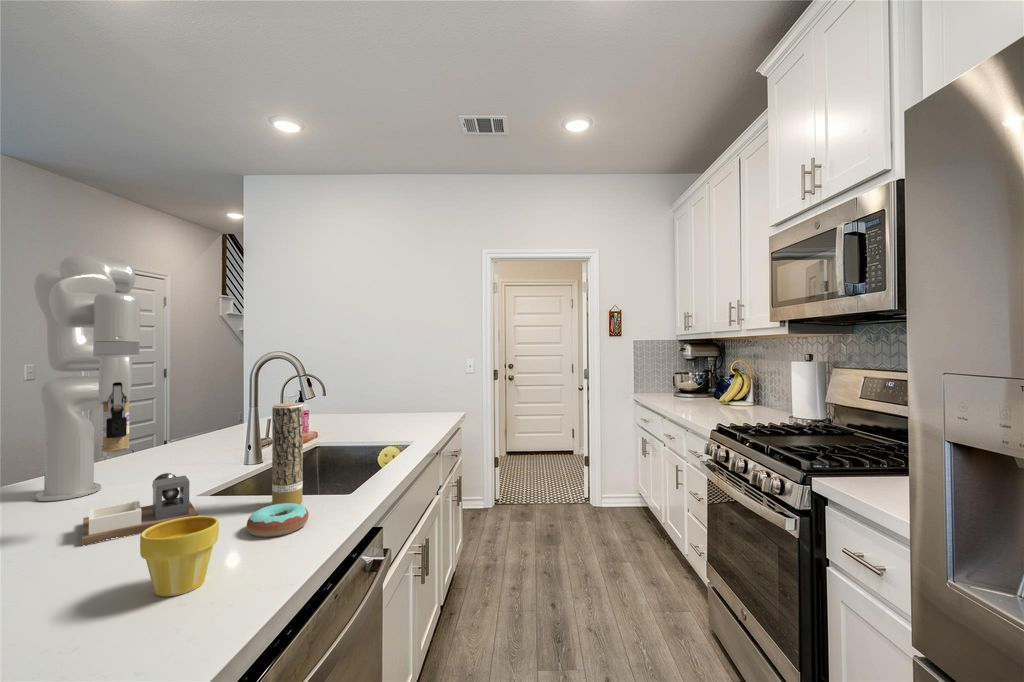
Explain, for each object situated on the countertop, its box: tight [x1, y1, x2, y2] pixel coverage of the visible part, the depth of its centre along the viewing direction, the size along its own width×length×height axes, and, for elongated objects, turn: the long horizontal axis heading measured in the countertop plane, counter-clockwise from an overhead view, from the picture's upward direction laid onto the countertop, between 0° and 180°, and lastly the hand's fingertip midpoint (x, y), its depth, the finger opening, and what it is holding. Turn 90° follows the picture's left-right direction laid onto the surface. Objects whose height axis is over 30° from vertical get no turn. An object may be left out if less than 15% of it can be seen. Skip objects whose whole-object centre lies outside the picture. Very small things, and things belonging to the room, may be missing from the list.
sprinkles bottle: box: [101, 396, 131, 453], centre depth 97 cm, size 5×5×14 cm
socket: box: [88, 500, 142, 535], centre depth 96 cm, size 8×8×3 cm
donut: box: [246, 503, 309, 538], centre depth 98 cm, size 12×12×4 cm
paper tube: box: [271, 402, 304, 505], centre depth 112 cm, size 7×7×25 cm
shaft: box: [152, 472, 180, 501], centre depth 106 cm, size 11×5×5 cm, turn 43°
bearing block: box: [152, 475, 190, 521], centre depth 102 cm, size 6×6×8 cm
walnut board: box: [81, 500, 199, 547], centre depth 101 cm, size 15×19×2 cm
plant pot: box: [139, 515, 220, 598], centre depth 74 cm, size 10×10×10 cm
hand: (115, 434), depth 97 cm, fingers closed on sprinkles bottle, 4 cm apart
